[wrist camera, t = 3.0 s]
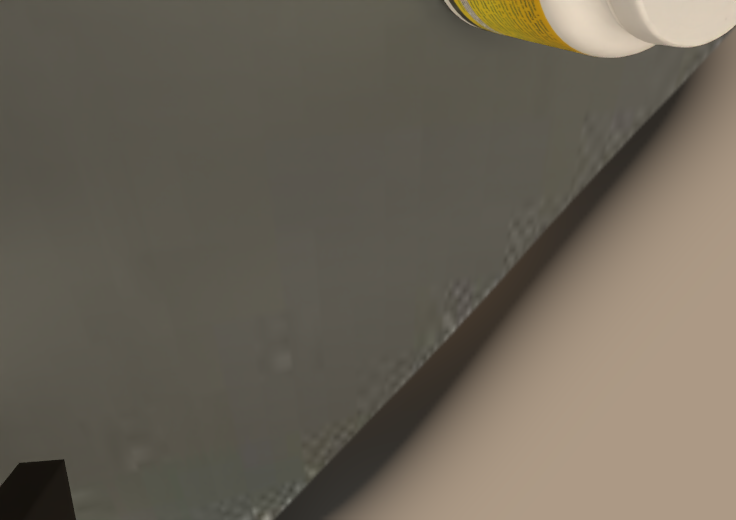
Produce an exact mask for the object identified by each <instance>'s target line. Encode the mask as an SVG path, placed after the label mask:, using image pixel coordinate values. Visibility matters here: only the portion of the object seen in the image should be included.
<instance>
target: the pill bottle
mask: <svg viewBox="0 0 736 520" xmlns="http://www.w3.org/2000/svg"><path fill="white" fill-rule="evenodd" d="M444 1H445V2H446V4H447V5H448V6H449V8H450V9H451V10H452V11H453V12H454V13H455V14H456V15H457V16H458V17H459V18H460V19H462V20H463V21H465V22H467V23H468V24H470V25H472V26H474V27H477V28H480V29H483V30H486V31H490V32H494V33H498V34H502V35H507V36H511V37H515V38H519V39H523V40H527V41H531V42H535V43H539V44H543V45H547V46H552V47H556V48H561V49H565V50H569V51H573V52H577V53H581V54H586V55H590V56H595V57H606V58H615V57H624V56H628V55H632V54H636V53H639V52H641V51H644V50H646V49H648V48H650V47H652V46H654V45H656V44H658V45H667V46H674V47H694V46H699V45H703V44H706V43H709V42H711V41H713V40H715V39H717V38H719V37H720V36H722V35H723V34H725V33H727V32H728V31H729V30H730V29H731V28H733V27H734V26H735V25H736V0H444Z"/></svg>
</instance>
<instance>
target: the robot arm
mask: <svg viewBox="0 0 736 520" xmlns="http://www.w3.org/2000/svg"><path fill="white" fill-rule="evenodd" d="M0 520H76V518H75V513H74V508H73V503H72V498H71V492H70V487H69V482H68V477H67V472H66V467H65V462H64V459H63V460H51V461H39V462H27V463H19V464H18V465H17V467H16V468H15V469H14V470H13V472H12V473H11V474H10V475H9V477H8V478H7V479H6V480H5V482H4V483H3V484H2V485H1V487H0Z"/></svg>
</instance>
